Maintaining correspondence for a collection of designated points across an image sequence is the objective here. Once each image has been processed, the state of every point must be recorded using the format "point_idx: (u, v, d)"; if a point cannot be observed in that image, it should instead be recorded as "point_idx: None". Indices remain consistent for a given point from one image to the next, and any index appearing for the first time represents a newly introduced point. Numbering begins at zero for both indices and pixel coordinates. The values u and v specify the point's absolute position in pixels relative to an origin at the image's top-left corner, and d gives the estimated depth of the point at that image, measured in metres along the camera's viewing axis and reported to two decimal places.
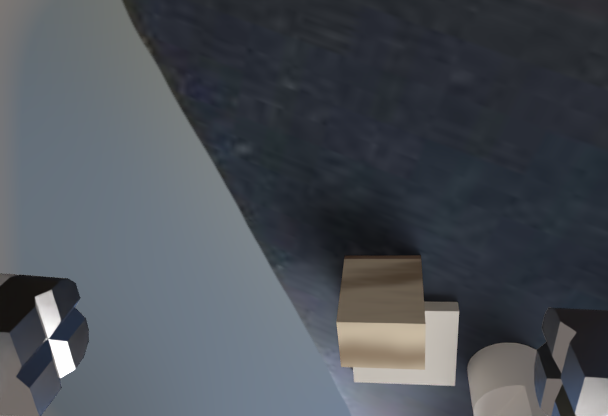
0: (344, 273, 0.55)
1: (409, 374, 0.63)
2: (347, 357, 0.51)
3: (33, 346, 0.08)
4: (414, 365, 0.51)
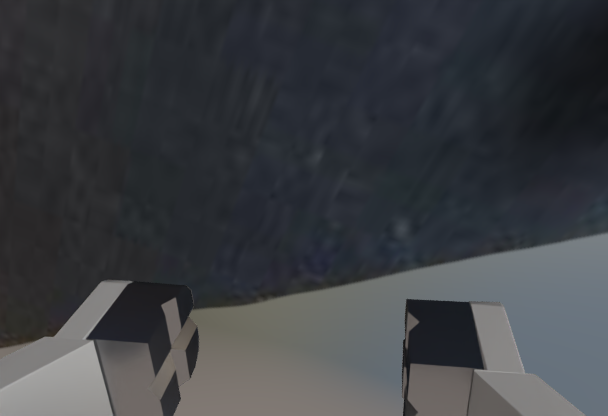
0: None
1: None
2: None
3: (162, 356, 0.08)
4: None
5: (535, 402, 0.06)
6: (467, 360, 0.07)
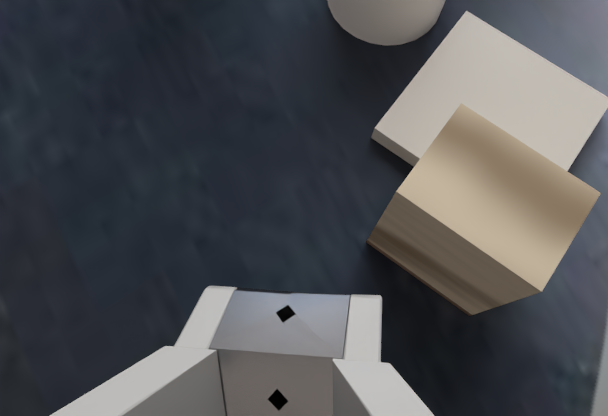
0: (483, 308, 0.31)
1: (516, 66, 0.38)
2: (574, 205, 0.26)
3: None
4: (471, 122, 0.27)
5: (379, 388, 0.07)
6: (329, 350, 0.07)
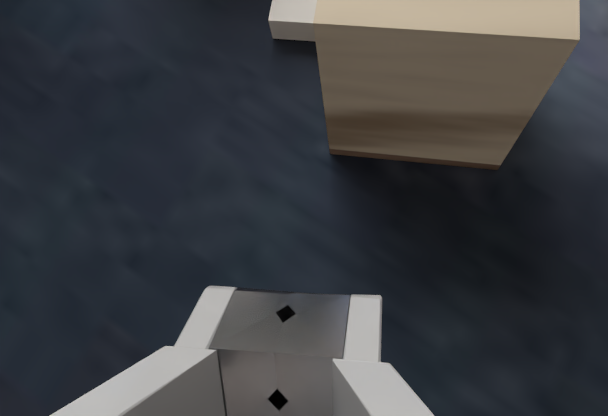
0: (509, 142, 0.22)
1: None
2: None
3: None
4: None
5: (379, 388, 0.07)
6: (329, 350, 0.07)
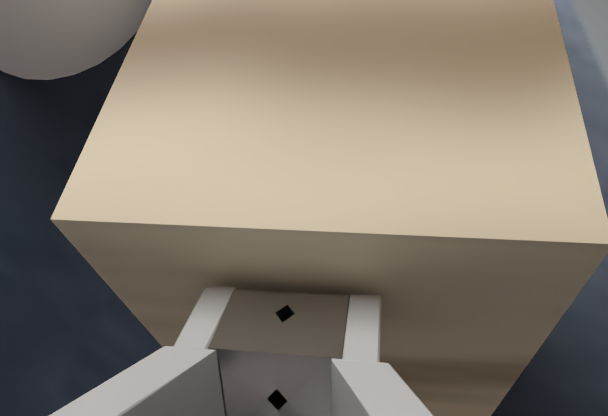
0: (495, 396, 0.13)
1: None
2: (515, 22, 0.10)
3: None
4: (194, 4, 0.11)
5: (377, 387, 0.07)
6: (328, 350, 0.07)
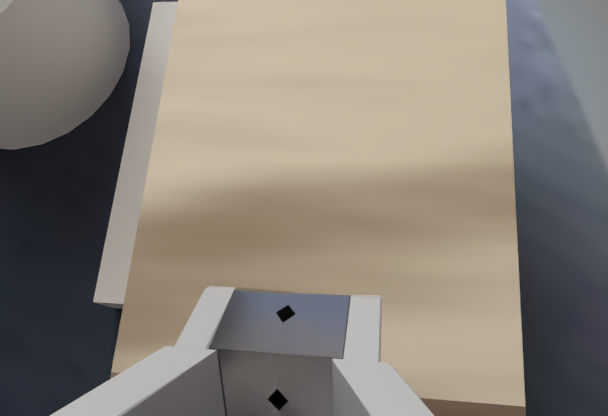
0: (508, 274, 0.10)
1: None
2: None
3: None
4: None
5: (379, 388, 0.07)
6: (329, 350, 0.07)
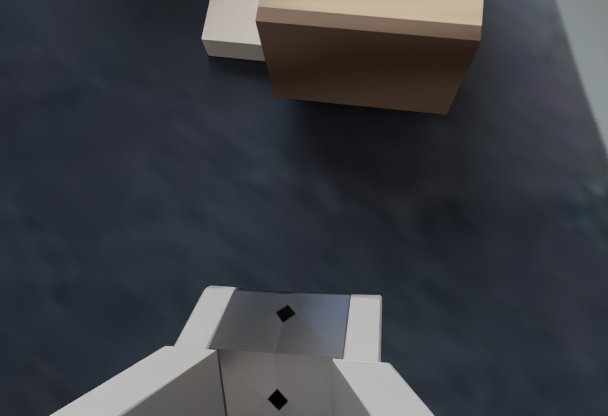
0: None
1: None
2: None
3: None
4: None
5: (379, 387, 0.07)
6: (329, 350, 0.07)
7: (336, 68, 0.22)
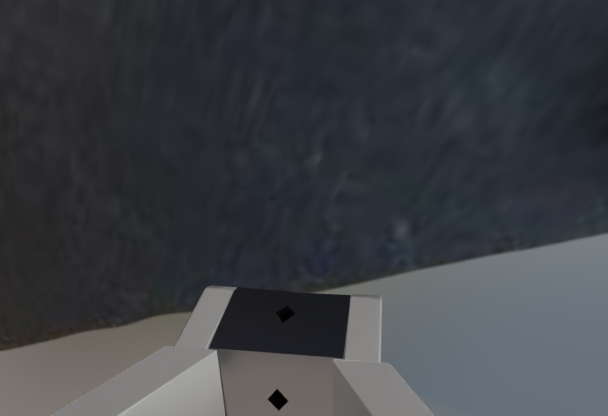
0: None
1: None
2: None
3: None
4: None
5: (379, 388, 0.07)
6: (329, 350, 0.07)
7: None
